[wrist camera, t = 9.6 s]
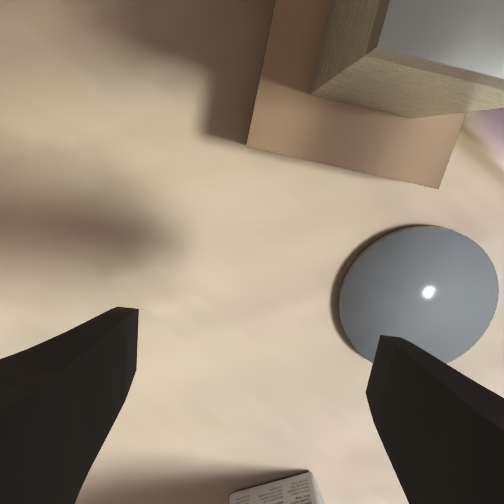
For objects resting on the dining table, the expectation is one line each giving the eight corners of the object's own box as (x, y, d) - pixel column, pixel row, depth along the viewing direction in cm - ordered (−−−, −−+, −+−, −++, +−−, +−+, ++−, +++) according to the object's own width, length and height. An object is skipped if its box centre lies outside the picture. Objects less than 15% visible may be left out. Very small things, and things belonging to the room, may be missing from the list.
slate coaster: (517, 243, 21) (524, 245, 20) (458, 377, 24) (463, 383, 23) (364, 210, 20) (367, 212, 20) (321, 352, 23) (323, 357, 22)
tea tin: (452, -3, 15) (720, -186, 6) (413, 119, 16) (592, 101, 8) (338, -33, 14) (464, -268, 6) (308, 95, 16) (376, 47, 7)
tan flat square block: (475, -9, 17) (519, -38, 15) (411, 181, 20) (438, 189, 17) (287, -59, 17) (295, -100, 14) (246, 145, 19) (246, 146, 16)
